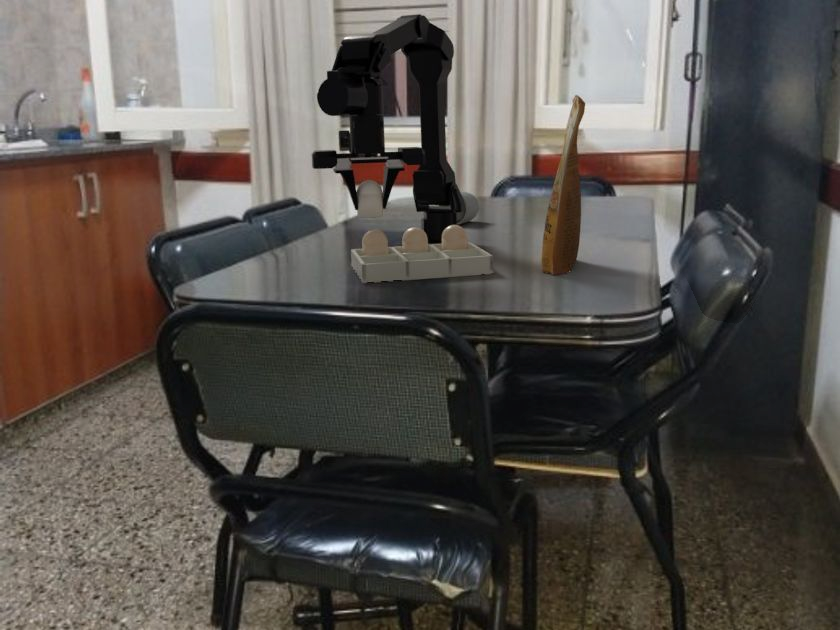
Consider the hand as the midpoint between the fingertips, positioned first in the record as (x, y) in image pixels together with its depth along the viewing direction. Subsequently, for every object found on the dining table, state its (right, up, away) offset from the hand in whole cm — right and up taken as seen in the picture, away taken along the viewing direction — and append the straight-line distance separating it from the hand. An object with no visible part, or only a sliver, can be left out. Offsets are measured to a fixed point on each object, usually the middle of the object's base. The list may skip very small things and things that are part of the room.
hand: (370, 209), depth 134 cm
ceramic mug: (+17, +3, +52) cm, 55 cm away
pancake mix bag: (+33, -10, -1) cm, 34 cm away
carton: (+8, -10, -1) cm, 13 cm away
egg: (0, -1, 0) cm, 1 cm away
